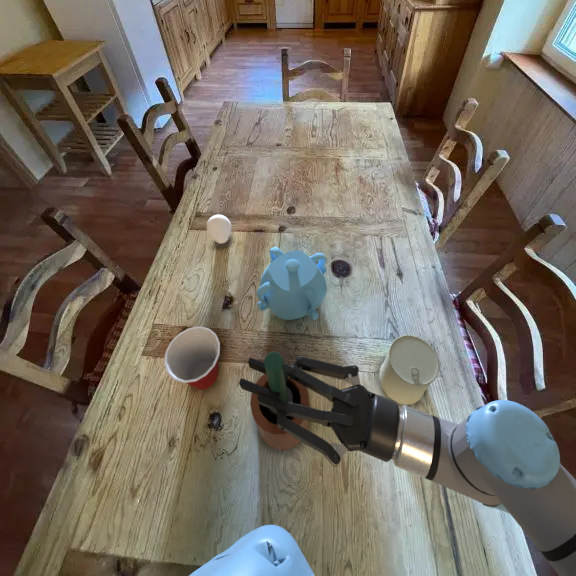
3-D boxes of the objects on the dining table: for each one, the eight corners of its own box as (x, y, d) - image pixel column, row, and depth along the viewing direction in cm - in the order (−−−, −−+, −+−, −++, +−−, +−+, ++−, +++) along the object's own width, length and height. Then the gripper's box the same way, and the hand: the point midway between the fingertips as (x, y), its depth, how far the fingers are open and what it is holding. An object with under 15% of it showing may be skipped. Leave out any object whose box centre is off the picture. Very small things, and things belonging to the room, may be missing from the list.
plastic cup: (213, 338, 79) (202, 314, 71) (239, 376, 73) (230, 354, 65) (170, 371, 74) (153, 349, 66) (194, 415, 68) (179, 396, 60)
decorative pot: (315, 335, 79) (317, 307, 70) (251, 315, 83) (245, 285, 74) (331, 277, 90) (335, 245, 81) (274, 261, 94) (272, 230, 85)
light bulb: (227, 230, 103) (221, 205, 95) (239, 244, 99) (233, 219, 91) (207, 241, 100) (199, 216, 92) (218, 256, 96) (210, 231, 88)
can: (380, 401, 69) (390, 381, 61) (378, 354, 75) (387, 330, 67) (427, 408, 68) (444, 388, 59) (421, 359, 74) (435, 336, 66)
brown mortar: (298, 459, 63) (297, 445, 54) (249, 437, 65) (240, 420, 56) (314, 401, 69) (316, 380, 60) (269, 383, 72) (264, 360, 63)
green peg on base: (288, 425, 59) (282, 384, 44) (265, 415, 61) (252, 371, 45) (296, 398, 62) (294, 351, 47) (274, 389, 64) (265, 340, 48)
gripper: (382, 504, 46) (226, 433, 52) (397, 383, 56) (266, 336, 62) (392, 499, 40) (217, 420, 47) (407, 367, 51) (262, 317, 57)
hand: (245, 372), depth 55 cm, fingers closed on green peg on base, 3 cm apart
